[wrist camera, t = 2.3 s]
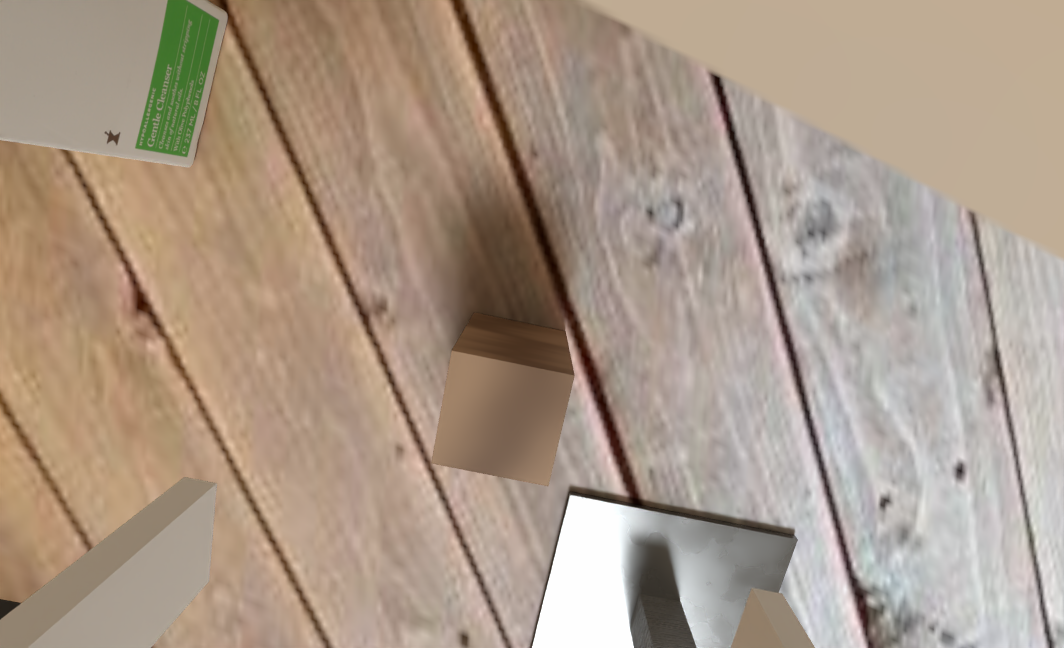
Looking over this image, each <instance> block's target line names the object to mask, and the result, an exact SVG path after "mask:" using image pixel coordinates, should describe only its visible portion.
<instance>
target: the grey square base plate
mask: <svg viewBox="0 0 1064 648" xmlns="http://www.w3.org/2000/svg"><path fill="white" fill-rule="evenodd" d="M797 540H798V539H797V538H796V537H795V536H794V535H789V534H784V533H779V532H774V531H769V530H764V529H759V528H754V527H748V526H743V525H738V524H733V523H728V522H723V521H718V520H713V519H708V518H702V517H697V516H692V515H687V514H682V513H677V512H672V511H667V510H662V509H657V508H651V507H646V506H641V505H636V504H631V503H626V502H621V501H616V500H611V499H606V498H600V497H595V496H590V495H585V494H580V493H575V492H570V493H569V497H568V501H567V505H566V509H565V513H564V517H563V521H562V525H561V529H560V533H559V537H558V541H557V545H556V549H555V553H554V558H553V562H552V566H551V570H550V574H549V578H548V582H547V586H546V590H545V594H544V598H543V602H542V606H541V610H540V614H539V618H538V622H537V626H536V630H535V634H534V638H533V642H532V646H531V648H731V645H732V642H733V640H734V637H735V634H736V631H737V628H738V625H739V623H740V620H741V617H742V614H743V611H744V608H745V606H746V603H747V600H748V597H749V594H750V591H751V589H752V588H756V589H761V590H766V591H771V592H776V593H779V590H780V587H781V584H782V582H783V579H784V576H785V573H786V571H787V568H788V565H789V562H790V560H791V557H792V554H793V551H794V549H795V546H796V543H797Z"/></svg>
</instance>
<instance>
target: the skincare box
mask: <svg viewBox="0 0 1064 648" xmlns="http://www.w3.org/2000/svg"><path fill="white" fill-rule="evenodd" d="M227 21H228V15H227V13H226V12H225V11H224V10H223V9H221V8H219V7H218V6H216V5H214V4H213V3H211V2H209V1H208V0H0V140H4V141H11V142H18V143H24V144H31V145H38V146H45V147H52V148H58V149H65V150H72V151H79V152H85V153H92V154H99V155H106V156H114V157H121V158H128V159H135V160H142V161H149V162H155V163H162V164H169V165H175V166H182V167H190V166H191V165H192V164H193V162H194V158H195V154H196V149H197V143H198V139H199V135H200V132H201V128H202V125H203V121H204V117H205V113H206V108H207V103H208V99H209V95H210V90H211V86H212V82H213V77H214V73H215V69H216V65H217V60H218V56H219V52H220V48H221V44H222V40H223V36H224V32H225V28H226V25H227Z"/></svg>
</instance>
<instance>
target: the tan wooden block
mask: <svg viewBox="0 0 1064 648" xmlns="http://www.w3.org/2000/svg"><path fill="white" fill-rule="evenodd" d="M573 380H574V371H573V366H572V361H571V356H570V351H569V346H568V341H567V336H566V331H562V330H557V329H552V328H547V327H542V326H537V325H533V324H528V323H523V322H518V321H513V320H508V319H503V318H499V317H494V316H489V315H484V314H479V313H474V314H473V315H472V317H471V319H470V320H469V322H468V324H467V325H466V327H465V329H464V330H463V332H462V334H461V336H460V337H459V339H458V341H457V342H456V344H455V346H454V347H453V349H452V351H451V357H450V362H449V368H448V373H447V379H446V384H445V390H444V395H443V401H442V407H441V412H440V418H439V423H438V429H437V434H436V440H435V445H434V451H433V456H432V462H431V463H432V464H437V465H442V466H447V467H452V468H458V469H463V470H468V471H473V472H478V473H483V474H488V475H493V476H498V477H503V478H509V479H514V480H519V481H524V482H529V483H534V484H539V485H544V486H548V485H549V481H550V477H551V472H552V468H553V464H554V460H555V456H556V451H557V447H558V443H559V439H560V435H561V430H562V426H563V422H564V418H565V413H566V409H567V405H568V401H569V397H570V392H571V388H572V384H573Z"/></svg>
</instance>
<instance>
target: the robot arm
mask: <svg viewBox="0 0 1064 648" xmlns="http://www.w3.org/2000/svg"><path fill="white" fill-rule="evenodd" d="M216 488H217V483H213V482H208V481H203V480H198V479H193V478H188V477H184V478H183V479H181V480H180V481H179V482H177V483H176V484H175V485H174V486H172V487H171V488H170V489H168V490H167V491H166V492H165V493H163V494H162V495H161V496H159V497H158V498H157V499H155V500H154V501H153V502H152V503H150V504H149V505H148V506H146V507H145V508H144V509H143V510H141V511H140V512H139V513H137V514H136V515H135V516H134V517H132V518H131V519H130V520H128V521H127V522H126V523H124V524H123V525H122V526H121V527H119V528H118V529H117V530H115V531H114V532H113V533H112V534H110V535H109V536H108V537H106V538H105V539H104V540H103V541H101V542H100V543H99V544H97V545H96V546H95V547H93V548H92V549H91V550H90V551H88V552H87V553H86V554H84V555H83V556H82V557H81V558H79V559H78V560H77V561H75V562H74V563H73V564H72V565H70V566H69V567H68V568H66V569H65V570H64V571H62V572H61V573H60V574H59V575H57V576H56V577H55V578H53V579H52V580H51V581H50V582H48V583H47V584H46V585H44V586H43V587H42V588H40V589H39V590H38V591H37V592H35V593H34V594H33V595H31V596H30V597H29V598H28V599H26V600H25V601H24V602H22V603H17V602H12V601H7V600H1V599H0V648H151V647H152V646H153V645H154V644H155V642H156V641H157V640H158V639H159V638H160V637H161V636H162V634H163V633H164V632H165V631H166V630H167V629H168V628H169V626H170V625H171V624H172V623H173V622H174V621H175V620H176V618H177V617H178V616H179V615H180V614H181V613H182V612H183V610H184V609H185V608H186V607H187V606H188V605H189V604H190V602H191V601H192V600H193V599H194V598H195V597H196V596H197V594H198V593H199V592H200V591H201V590H202V589H203V588H204V586H205V585H206V584H207V583H208V582H209V575H210V562H211V550H212V538H213V525H214V513H215V500H216ZM731 648H815V647H814V645H813V644H812V642H811V640H810V639H809V637H808V635H807V634H806V632H805V630H804V629H803V627H802V626H801V624H800V622H799V621H798V619H797V617H796V616H795V614H794V612H793V611H792V609H791V608H790V606H789V604H788V603H787V601H786V599H785V598H784V596H783V594H781V593H776V592H771V591H766V590H761V589H756V588H752V589H751V591H750V594H749V597H748V600H747V603H746V606H745V608H744V611H743V614H742V617H741V620H740V623H739V625H738V628H737V631H736V634H735V637H734V640H733V642H732V645H731Z"/></svg>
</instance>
